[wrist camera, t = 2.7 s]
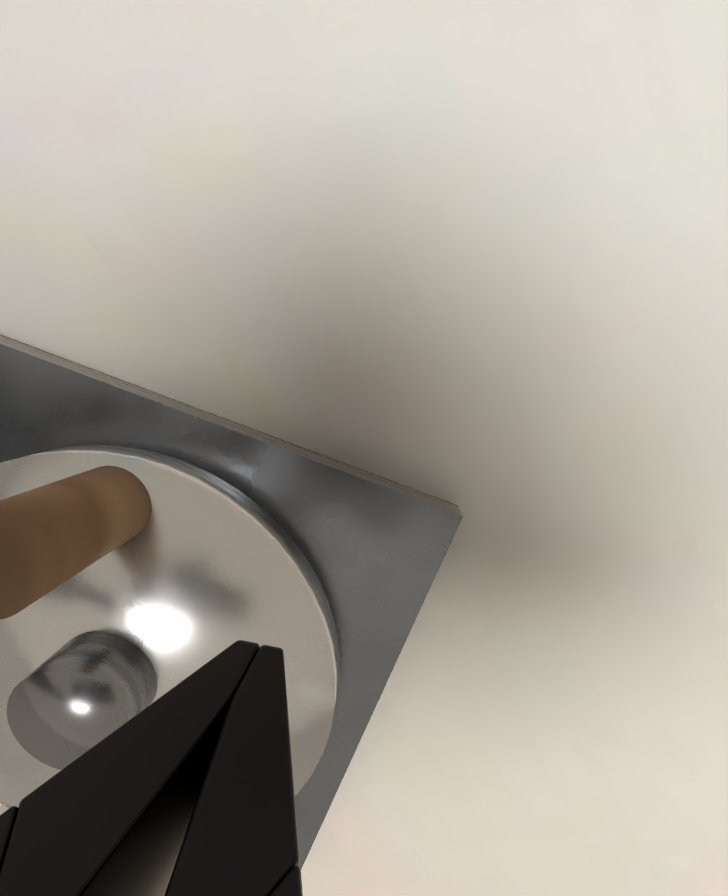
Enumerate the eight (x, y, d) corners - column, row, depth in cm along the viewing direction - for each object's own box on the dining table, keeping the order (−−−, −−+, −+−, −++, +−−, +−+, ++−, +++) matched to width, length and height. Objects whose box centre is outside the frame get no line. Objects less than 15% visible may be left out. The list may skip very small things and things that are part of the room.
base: (-90, 725, 18) (-227, 827, 14) (-41, 319, 13) (-217, 299, 10) (296, 862, 18) (270, 1001, 14) (457, 505, 14) (484, 559, 10)
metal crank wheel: (-94, 763, 16) (-314, 943, 11) (-47, 375, 13) (-342, 380, 7) (257, 888, 16) (199, 1120, 11) (404, 543, 13) (416, 657, 8)
